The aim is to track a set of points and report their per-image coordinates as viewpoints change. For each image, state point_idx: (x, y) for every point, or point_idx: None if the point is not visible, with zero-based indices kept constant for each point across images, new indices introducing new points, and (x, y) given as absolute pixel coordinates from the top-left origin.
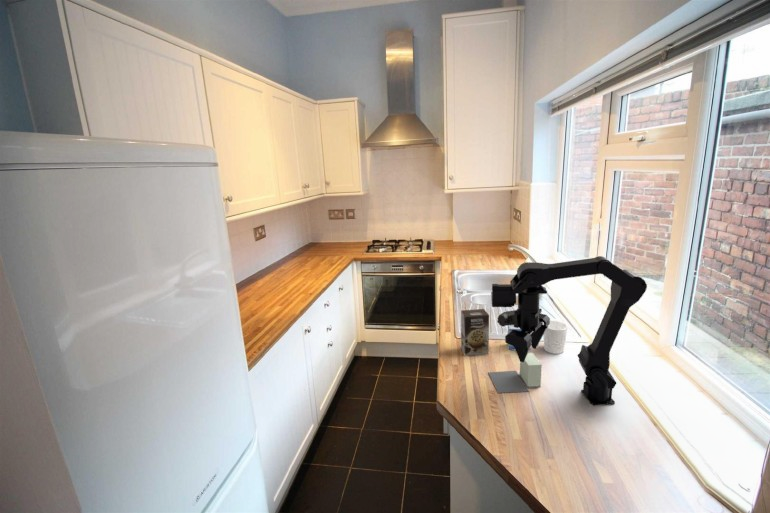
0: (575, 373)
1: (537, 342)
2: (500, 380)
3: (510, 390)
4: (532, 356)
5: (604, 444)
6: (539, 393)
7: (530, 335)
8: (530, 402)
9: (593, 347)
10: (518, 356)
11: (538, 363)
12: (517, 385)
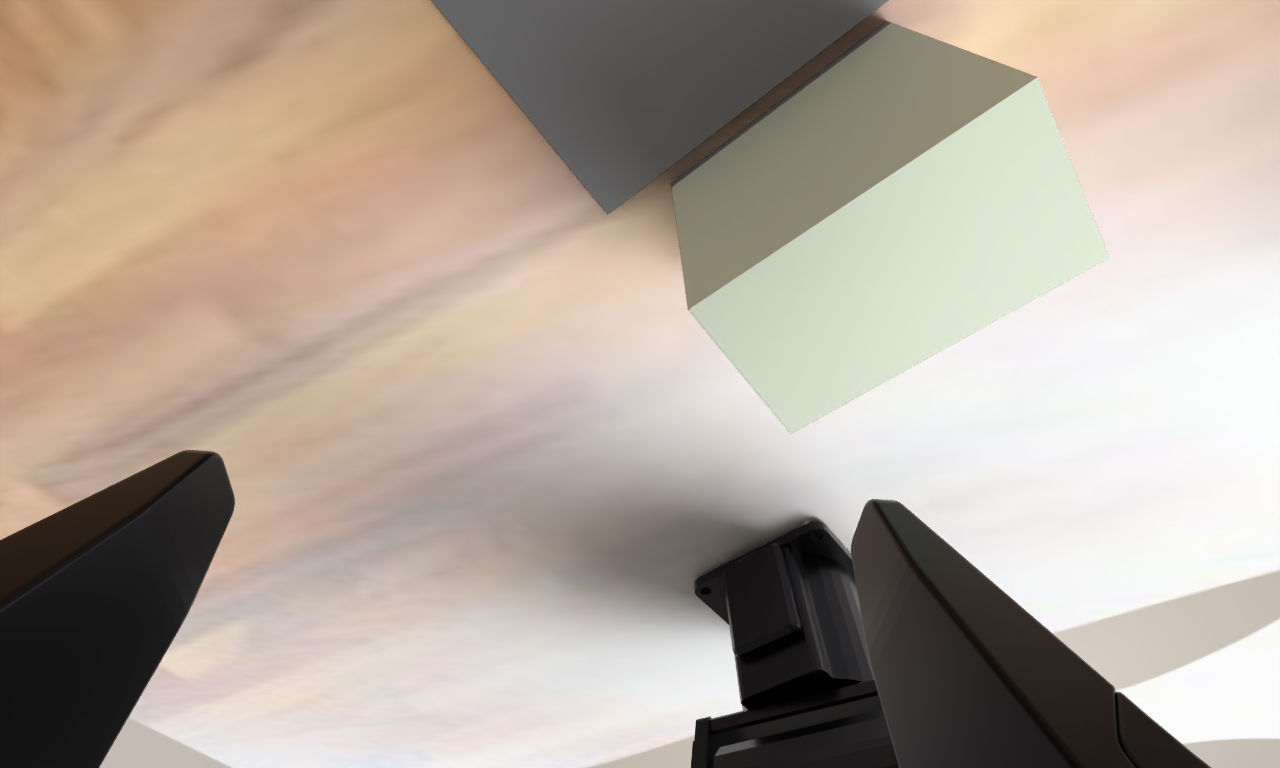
0: (1070, 455)
1: (892, 719)
2: None
3: (499, 39)
4: (985, 286)
5: (391, 642)
6: (638, 297)
7: (1059, 755)
8: (462, 268)
9: None
10: (46, 526)
11: (804, 398)
12: (637, 80)
